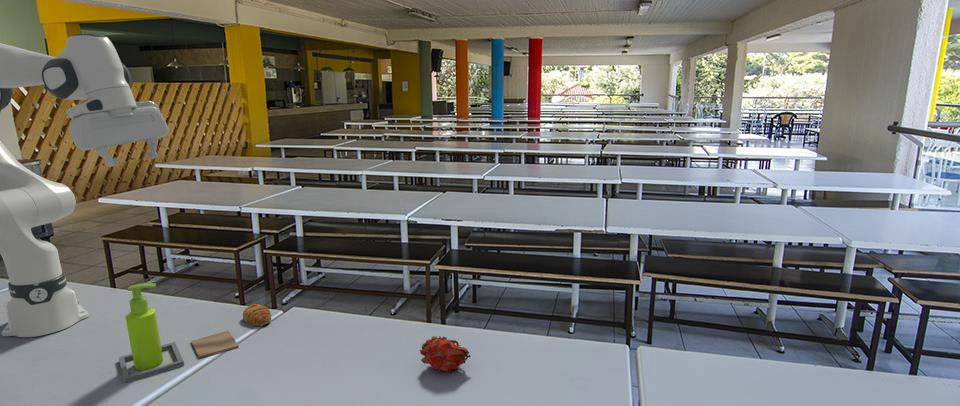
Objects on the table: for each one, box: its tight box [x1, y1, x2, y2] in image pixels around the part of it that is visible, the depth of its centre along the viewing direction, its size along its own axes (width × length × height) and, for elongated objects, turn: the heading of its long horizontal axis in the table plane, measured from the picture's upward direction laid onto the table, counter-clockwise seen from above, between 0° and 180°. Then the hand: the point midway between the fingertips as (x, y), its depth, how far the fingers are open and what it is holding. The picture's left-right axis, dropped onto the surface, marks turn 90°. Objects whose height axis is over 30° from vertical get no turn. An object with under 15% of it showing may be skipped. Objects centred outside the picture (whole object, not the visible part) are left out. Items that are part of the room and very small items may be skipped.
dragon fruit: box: [419, 335, 471, 374], centre depth 123 cm, size 8×8×12 cm
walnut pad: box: [190, 330, 239, 359], centre depth 136 cm, size 10×9×1 cm
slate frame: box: [118, 341, 185, 384], centre depth 127 cm, size 12×12×1 cm
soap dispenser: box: [125, 282, 164, 371], centre depth 125 cm, size 6×7×20 cm
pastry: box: [242, 303, 272, 327], centre depth 149 cm, size 9×7×4 cm
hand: (134, 162), depth 125 cm, fingers open, 8 cm apart
